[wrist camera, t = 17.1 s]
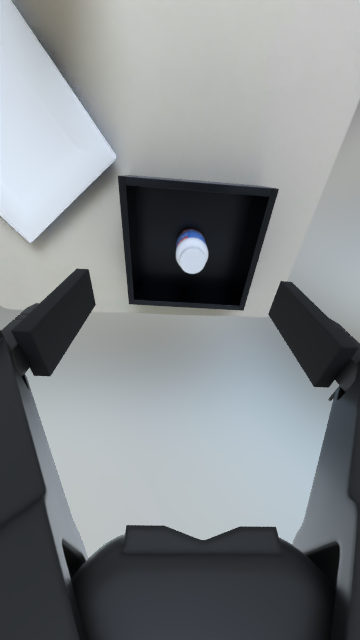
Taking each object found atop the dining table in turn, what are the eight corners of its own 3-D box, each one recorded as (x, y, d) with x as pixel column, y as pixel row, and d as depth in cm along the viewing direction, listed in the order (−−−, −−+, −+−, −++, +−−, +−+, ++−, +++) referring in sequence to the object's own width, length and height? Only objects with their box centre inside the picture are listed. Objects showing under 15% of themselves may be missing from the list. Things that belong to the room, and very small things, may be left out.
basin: (260, 185, 35) (278, 188, 29) (234, 291, 47) (243, 310, 40) (129, 175, 34) (117, 175, 28) (136, 285, 46) (129, 304, 39)
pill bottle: (183, 223, 37) (184, 236, 30) (209, 235, 39) (217, 251, 31) (171, 251, 40) (170, 270, 32) (196, 261, 42) (201, 282, 34)
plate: (-106, 106, 29) (-124, 102, 28) (-27, -61, 22) (-44, -81, 20) (35, 240, 40) (29, 243, 38) (120, 158, 33) (117, 157, 31)
